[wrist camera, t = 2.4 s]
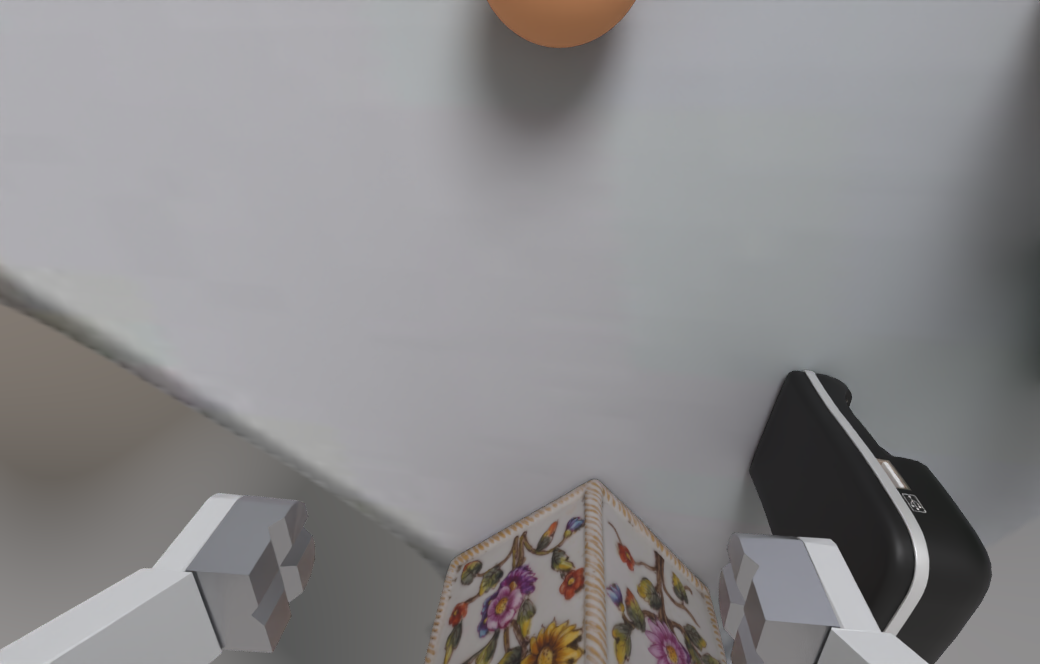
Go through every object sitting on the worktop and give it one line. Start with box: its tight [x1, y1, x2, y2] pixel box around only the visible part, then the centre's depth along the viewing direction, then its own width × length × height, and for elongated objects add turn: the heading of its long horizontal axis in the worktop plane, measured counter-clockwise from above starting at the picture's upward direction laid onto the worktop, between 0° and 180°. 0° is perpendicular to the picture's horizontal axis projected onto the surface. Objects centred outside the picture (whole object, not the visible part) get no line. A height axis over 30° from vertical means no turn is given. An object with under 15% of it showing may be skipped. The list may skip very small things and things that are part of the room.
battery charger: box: [749, 370, 992, 664], centre depth 24 cm, size 7×4×11 cm, turn 173°
